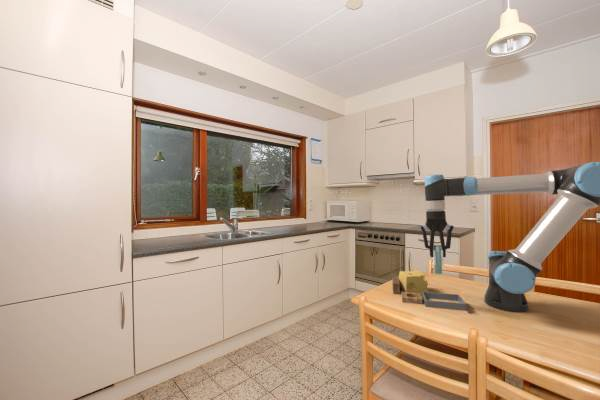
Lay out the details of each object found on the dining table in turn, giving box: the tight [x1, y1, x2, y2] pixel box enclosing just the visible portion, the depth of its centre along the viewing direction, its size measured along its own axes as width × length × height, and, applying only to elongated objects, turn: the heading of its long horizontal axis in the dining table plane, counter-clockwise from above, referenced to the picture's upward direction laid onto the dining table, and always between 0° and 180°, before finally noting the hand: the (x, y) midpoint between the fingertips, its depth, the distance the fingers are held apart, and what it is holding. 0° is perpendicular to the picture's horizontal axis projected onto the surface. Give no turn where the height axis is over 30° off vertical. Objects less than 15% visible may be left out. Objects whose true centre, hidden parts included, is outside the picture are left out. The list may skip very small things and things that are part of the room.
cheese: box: [398, 270, 429, 296], centre depth 133 cm, size 10×11×10 cm
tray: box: [421, 291, 467, 311], centre depth 117 cm, size 15×11×4 cm
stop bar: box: [391, 276, 401, 295], centre depth 135 cm, size 3×12×6 cm, turn 163°
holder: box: [400, 291, 423, 305], centre depth 122 cm, size 8×8×3 cm
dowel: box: [433, 244, 443, 275], centre depth 118 cm, size 3×3×12 cm
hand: (438, 264), depth 118 cm, fingers closed on dowel, 2 cm apart
